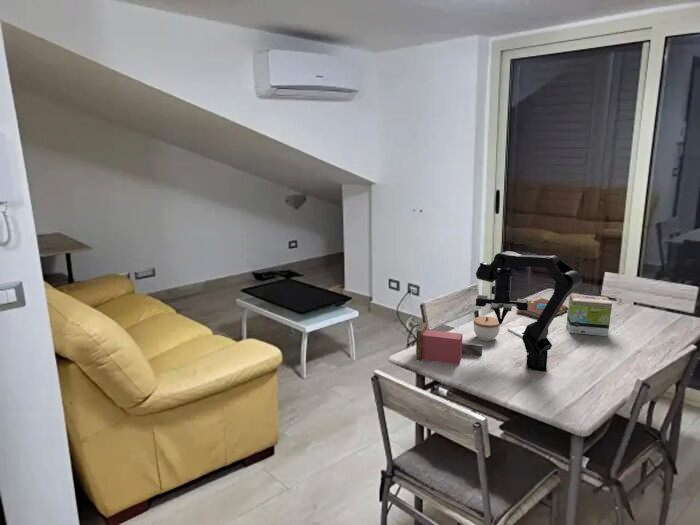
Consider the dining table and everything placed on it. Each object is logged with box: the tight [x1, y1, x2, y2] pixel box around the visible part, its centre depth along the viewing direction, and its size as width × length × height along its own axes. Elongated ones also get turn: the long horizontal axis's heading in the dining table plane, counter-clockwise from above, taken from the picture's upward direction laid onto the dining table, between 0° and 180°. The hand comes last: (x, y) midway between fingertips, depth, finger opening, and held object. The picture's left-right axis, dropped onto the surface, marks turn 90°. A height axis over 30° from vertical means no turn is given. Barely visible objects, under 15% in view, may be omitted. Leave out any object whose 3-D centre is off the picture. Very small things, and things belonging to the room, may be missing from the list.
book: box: [516, 297, 568, 320], centre depth 246 cm, size 16×25×5 cm, turn 127°
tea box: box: [565, 293, 613, 337], centre depth 219 cm, size 15×10×15 cm
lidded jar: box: [473, 315, 501, 342], centre depth 213 cm, size 11×11×9 cm
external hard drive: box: [507, 325, 527, 339], centre depth 218 cm, size 2×8×12 cm
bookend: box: [415, 322, 483, 362], centre depth 195 cm, size 23×13×12 cm, turn 71°
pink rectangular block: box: [422, 329, 463, 366], centre depth 194 cm, size 14×6×10 cm, turn 70°
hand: (500, 324), depth 197 cm, fingers closed
